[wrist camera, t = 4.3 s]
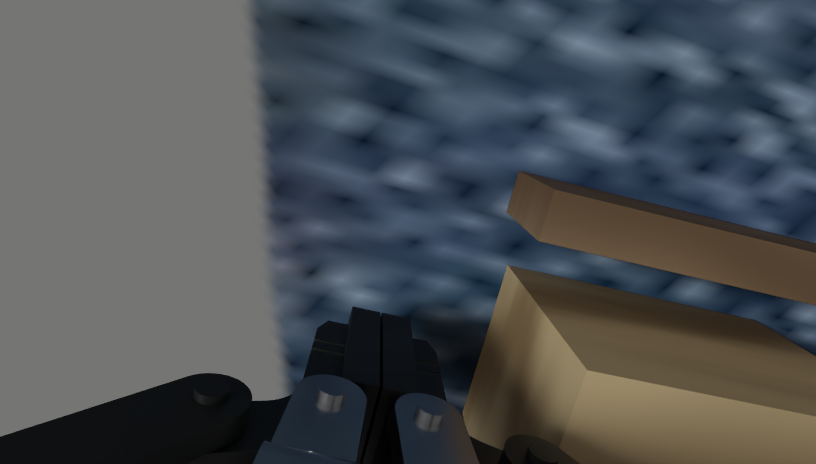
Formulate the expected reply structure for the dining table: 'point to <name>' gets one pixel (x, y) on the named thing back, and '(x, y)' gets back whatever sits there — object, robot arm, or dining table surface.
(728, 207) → the dining table surface
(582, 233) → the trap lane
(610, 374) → the block
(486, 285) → the dining table surface
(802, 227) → the dining table surface
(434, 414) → the robot arm
